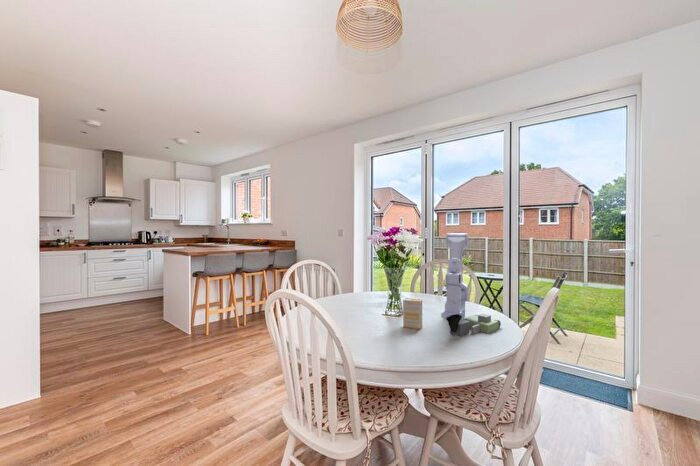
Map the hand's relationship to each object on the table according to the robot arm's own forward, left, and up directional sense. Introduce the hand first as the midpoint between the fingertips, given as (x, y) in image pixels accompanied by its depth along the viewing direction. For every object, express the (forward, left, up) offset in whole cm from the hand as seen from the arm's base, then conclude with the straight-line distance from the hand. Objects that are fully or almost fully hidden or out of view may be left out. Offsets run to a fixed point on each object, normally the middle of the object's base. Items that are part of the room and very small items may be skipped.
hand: (453, 331), depth 133 cm
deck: (+2, +17, -2) cm, 17 cm away
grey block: (0, +5, -2) cm, 5 cm away
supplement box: (-18, -5, -2) cm, 19 cm away
